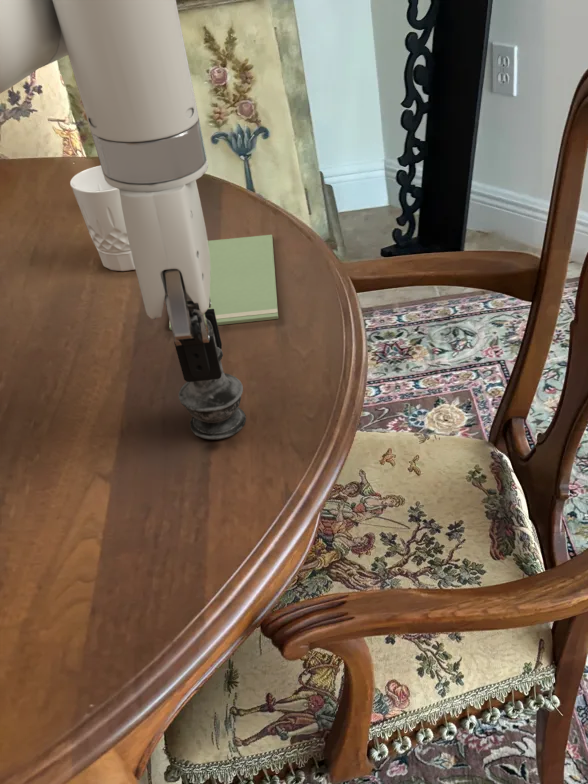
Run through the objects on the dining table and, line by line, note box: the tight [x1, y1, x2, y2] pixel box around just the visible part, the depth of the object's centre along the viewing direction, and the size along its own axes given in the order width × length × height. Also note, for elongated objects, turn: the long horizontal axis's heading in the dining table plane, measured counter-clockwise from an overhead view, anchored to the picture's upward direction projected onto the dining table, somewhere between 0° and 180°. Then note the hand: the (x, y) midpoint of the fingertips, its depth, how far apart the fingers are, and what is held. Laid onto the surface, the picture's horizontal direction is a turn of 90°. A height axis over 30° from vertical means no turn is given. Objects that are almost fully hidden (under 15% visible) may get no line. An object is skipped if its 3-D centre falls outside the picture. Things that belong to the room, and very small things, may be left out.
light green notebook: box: [168, 234, 279, 331], centre depth 94 cm, size 12×20×1 cm, turn 9°
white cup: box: [69, 165, 136, 272], centre depth 95 cm, size 8×8×10 cm
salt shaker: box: [178, 316, 247, 440], centre depth 70 cm, size 6×6×12 cm
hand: (203, 362), depth 70 cm, fingers closed on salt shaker, 3 cm apart
